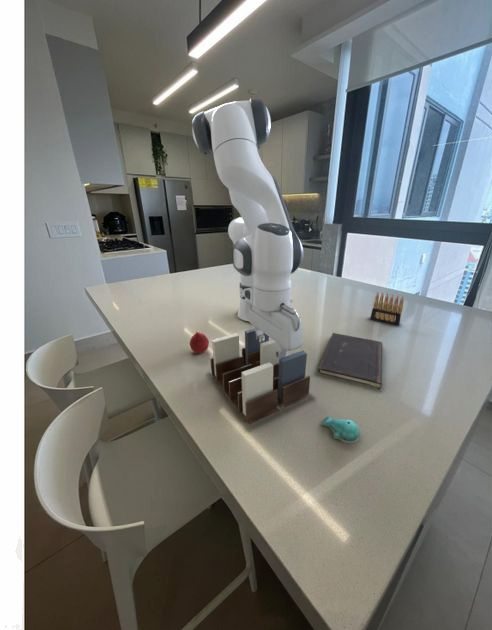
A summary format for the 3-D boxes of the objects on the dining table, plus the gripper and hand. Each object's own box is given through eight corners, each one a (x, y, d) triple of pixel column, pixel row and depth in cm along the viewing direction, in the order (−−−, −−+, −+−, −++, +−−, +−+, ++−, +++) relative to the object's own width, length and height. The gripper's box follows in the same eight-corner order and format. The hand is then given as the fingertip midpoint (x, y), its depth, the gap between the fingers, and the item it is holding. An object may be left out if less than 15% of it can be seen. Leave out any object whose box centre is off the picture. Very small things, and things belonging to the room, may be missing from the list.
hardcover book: (318, 375, 72) (318, 368, 71) (332, 338, 92) (332, 332, 91) (380, 390, 66) (382, 383, 66) (381, 348, 86) (382, 341, 85)
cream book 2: (268, 401, 61) (269, 362, 57) (272, 405, 60) (273, 365, 56) (242, 412, 58) (241, 372, 54) (246, 417, 57) (244, 375, 53)
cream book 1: (237, 367, 74) (236, 333, 70) (240, 370, 73) (239, 335, 68) (214, 375, 71) (211, 339, 66) (217, 378, 69) (214, 342, 65)
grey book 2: (300, 387, 66) (303, 350, 62) (303, 390, 65) (307, 353, 60) (277, 397, 63) (278, 358, 58) (281, 401, 62) (282, 361, 57)
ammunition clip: (369, 319, 106) (375, 291, 102) (370, 318, 108) (376, 290, 103) (398, 326, 101) (405, 297, 96) (399, 324, 102) (406, 295, 97)
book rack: (263, 356, 81) (263, 339, 78) (311, 398, 64) (313, 378, 61) (210, 374, 72) (208, 356, 70) (249, 428, 55) (248, 406, 53)
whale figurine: (350, 452, 50) (353, 438, 48) (317, 432, 54) (318, 418, 53) (362, 434, 54) (365, 420, 52) (330, 416, 58) (332, 403, 57)
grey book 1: (265, 357, 79) (266, 325, 74) (268, 360, 77) (269, 327, 73) (245, 364, 75) (244, 330, 71) (248, 367, 74) (247, 333, 70)
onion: (213, 350, 84) (211, 328, 81) (203, 360, 79) (201, 336, 76) (197, 347, 86) (194, 325, 83) (187, 356, 81) (184, 333, 78)
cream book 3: (281, 371, 72) (282, 336, 68) (284, 374, 71) (286, 338, 67) (260, 379, 69) (260, 343, 64) (263, 382, 68) (263, 346, 63)
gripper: (311, 309, 54) (306, 365, 60) (261, 284, 70) (260, 330, 76) (287, 315, 51) (283, 373, 57) (240, 288, 67) (241, 335, 73)
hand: (270, 348), depth 66 cm, fingers open, 8 cm apart
